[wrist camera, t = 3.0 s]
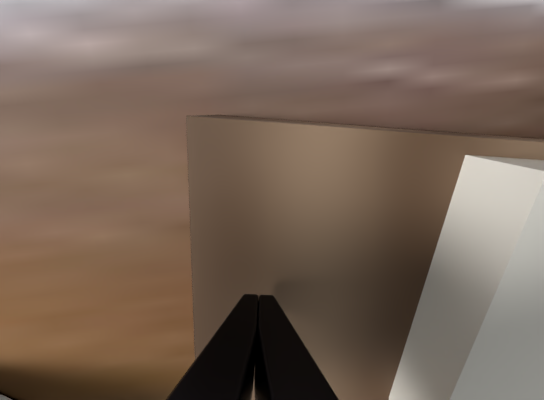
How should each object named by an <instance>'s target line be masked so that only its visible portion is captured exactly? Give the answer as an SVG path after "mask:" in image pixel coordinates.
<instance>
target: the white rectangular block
mask: <svg viewBox="0 0 544 400" xmlns="http://www.w3.org/2000/svg"><path fill="white" fill-rule="evenodd" d="M389 400H544V160H532V159H518V158H504V157H490V156H475V155H465V158H464V161H463V164H462V167H461V170H460V174H459V177H458V180H457V183H456V186H455V189H454V193H453V196H452V199H451V202H450V205H449V208H448V212H447V215H446V218H445V221H444V224H443V227H442V231H441V234H440V237H439V240H438V243H437V246H436V249H435V253H434V256H433V259H432V262H431V265H430V268H429V272H428V275H427V278H426V281H425V284H424V287H423V291H422V294H421V297H420V300H419V303H418V306H417V310H416V313H415V316H414V319H413V322H412V325H411V329H410V332H409V335H408V338H407V341H406V344H405V348H404V351H403V354H402V357H401V360H400V363H399V367H398V370H397V373H396V376H395V379H394V382H393V386H392V389H391V392H390V395H389Z"/></svg>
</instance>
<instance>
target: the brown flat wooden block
mask: <svg viewBox="0 0 544 400" xmlns="http://www.w3.org/2000/svg"><path fill="white" fill-rule="evenodd" d="M186 126H187V153H188V181H189V208H190V236H191V263H192V291H193V318H194V346H195V360H196V358H197V357H198V356H199V354H200V353H201V352H202V350H203V349H204V347H205V346H206V345H207V343H208V342H209V341H210V339H211V338H212V337H213V335H214V334H215V333H216V331H217V330H218V328H219V327H220V326H221V324H222V323H223V322H224V320H225V319H226V318H227V316H228V315H229V313H230V312H231V311H232V309H233V308H234V307H235V305H236V304H237V303H238V301H239V300H240V299H241V297H242V296H243V295H244V294H257V295H258V297H259V295H261V294H262V295H273V296H274V297H275V298H276V300H277V301H278V303H279V305H280V306H281V308H282V309H283V311H284V313H285V314H286V316H287V317H288V319H289V321H290V322H291V324H292V326H293V327H294V329H295V330H296V332H297V334H298V335H299V337H300V338H301V340H302V342H303V343H304V345H305V346H306V348H307V350H308V351H309V353H310V354H311V356H312V358H313V359H314V361H315V362H316V364H317V366H318V367H319V369H320V370H321V372H322V374H323V375H324V377H325V378H326V380H327V382H328V383H329V385H330V386H331V388H332V390H333V391H334V393H335V394H336V396H337V398H338V399H339V400H389V395H390V392H391V389H392V386H393V382H394V379H395V376H396V373H397V370H398V367H399V363H400V360H401V357H402V354H403V351H404V348H405V344H406V341H407V338H408V335H409V332H410V329H411V325H412V322H413V319H414V316H415V313H416V310H417V306H418V303H419V300H420V297H421V294H422V291H423V287H424V284H425V281H426V278H427V275H428V272H429V268H430V265H431V262H432V259H433V256H434V253H435V249H436V246H437V243H438V240H439V237H440V234H441V231H442V227H443V224H444V221H445V218H446V215H447V212H448V208H449V205H450V202H451V199H452V196H453V193H454V189H455V186H456V183H457V180H458V177H459V174H460V170H461V167H462V164H463V161H464V158H465V155H475V156H490V157H504V158H518V159H532V160H544V139H535V138H522V137H508V136H495V135H481V134H468V133H454V132H441V131H427V130H414V129H400V128H387V127H373V126H360V125H346V124H333V123H319V122H306V121H292V120H279V119H265V118H252V117H238V116H225V115H199V116H186ZM258 300H259V299H258ZM254 374H255V371H254ZM251 400H255V393H254V384H253V392H252V399H251Z"/></svg>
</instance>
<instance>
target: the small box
mask: <svg viewBox="0 0 544 400" xmlns="http://www.w3.org/2000/svg"><path fill="white" fill-rule="evenodd" d="M0 400H12V399H10V398H8V397H6V396H4V395H2V394H0Z"/></svg>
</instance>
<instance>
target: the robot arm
mask: <svg viewBox="0 0 544 400" xmlns="http://www.w3.org/2000/svg"><path fill="white" fill-rule="evenodd" d="M258 299H259V300H258ZM254 371H255V374H254ZM253 384H254V393H255V400H339V399H338V398H337V396H336V394H335V393H334V391H333V390H332V388H331V386H330V385H329V383H328V382H327V380H326V378H325V377H324V375H323V374H322V372H321V370H320V369H319V367H318V366H317V364H316V362H315V361H314V359H313V358H312V356H311V354H310V353H309V351H308V350H307V348H306V346H305V345H304V343H303V342H302V340H301V338H300V337H299V335H298V334H297V332H296V330H295V329H294V327H293V326H292V324H291V322H290V321H289V319H288V317H287V316H286V314H285V313H284V311H283V309H282V308H281V306H280V305H279V303H278V301H277V300H276V298H275V297H274V296H273V295H262V294H261V295H259V297H258V295H257V294H244V295H243V296H242V297H241V299H240V300H239V301H238V303H237V304H236V305H235V307H234V308H233V309H232V311H231V312H230V313H229V315H228V316H227V318H226V319H225V320H224V322H223V323H222V324H221V326H220V327H219V328H218V330H217V331H216V333H215V334H214V335H213V337H212V338H211V339H210V341H209V342H208V343H207V345H206V346H205V347H204V349H203V350H202V352H201V353H200V354H199V356H198V357H197V358H196V360H195V361H194V362H193V364H192V365H191V366H190V368H189V369H188V371H187V372H186V373H185V375H184V376H183V377H182V379H181V380H180V381H179V383H178V384H177V385H176V387H175V388H174V390H173V391H172V392H171V394H170V395H169V396H168V398H167V399H166V400H251V399H252V392H253Z"/></svg>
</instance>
